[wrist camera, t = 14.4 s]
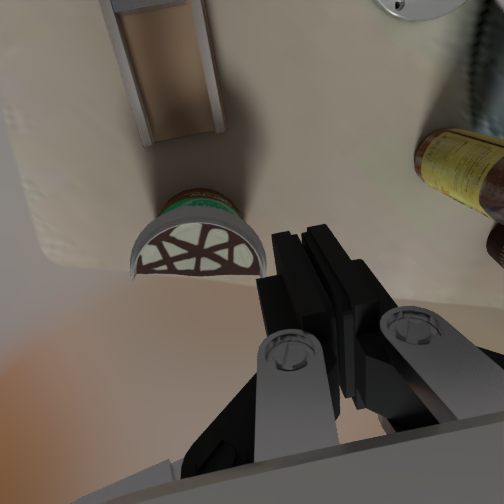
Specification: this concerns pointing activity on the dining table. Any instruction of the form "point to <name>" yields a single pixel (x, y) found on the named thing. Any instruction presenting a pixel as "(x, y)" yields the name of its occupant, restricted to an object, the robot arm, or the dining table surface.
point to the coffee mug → (496, 244)
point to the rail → (168, 70)
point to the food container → (198, 239)
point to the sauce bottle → (465, 169)
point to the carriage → (143, 5)
